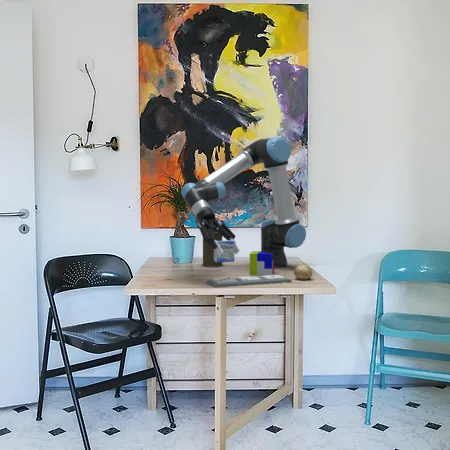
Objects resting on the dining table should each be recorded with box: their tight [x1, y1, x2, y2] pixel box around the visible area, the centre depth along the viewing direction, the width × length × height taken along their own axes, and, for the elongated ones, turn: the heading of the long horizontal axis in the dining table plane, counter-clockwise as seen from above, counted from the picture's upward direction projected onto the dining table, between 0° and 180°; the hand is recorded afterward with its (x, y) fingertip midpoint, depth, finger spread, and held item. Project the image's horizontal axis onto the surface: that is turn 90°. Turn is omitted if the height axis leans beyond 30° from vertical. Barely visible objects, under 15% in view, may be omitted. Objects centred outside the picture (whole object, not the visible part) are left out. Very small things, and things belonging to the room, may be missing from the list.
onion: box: [293, 263, 313, 281], centre depth 246 cm, size 8×8×7 cm
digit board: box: [206, 274, 293, 288], centre depth 239 cm, size 34×12×2 cm, turn 109°
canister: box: [202, 230, 223, 268], centre depth 288 cm, size 11×10×20 cm
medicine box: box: [214, 240, 236, 263], centre depth 234 cm, size 8×4×9 cm, turn 106°
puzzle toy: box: [249, 250, 275, 277], centre depth 261 cm, size 10×10×10 cm
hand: (229, 253), depth 232 cm, fingers closed on medicine box, 9 cm apart
